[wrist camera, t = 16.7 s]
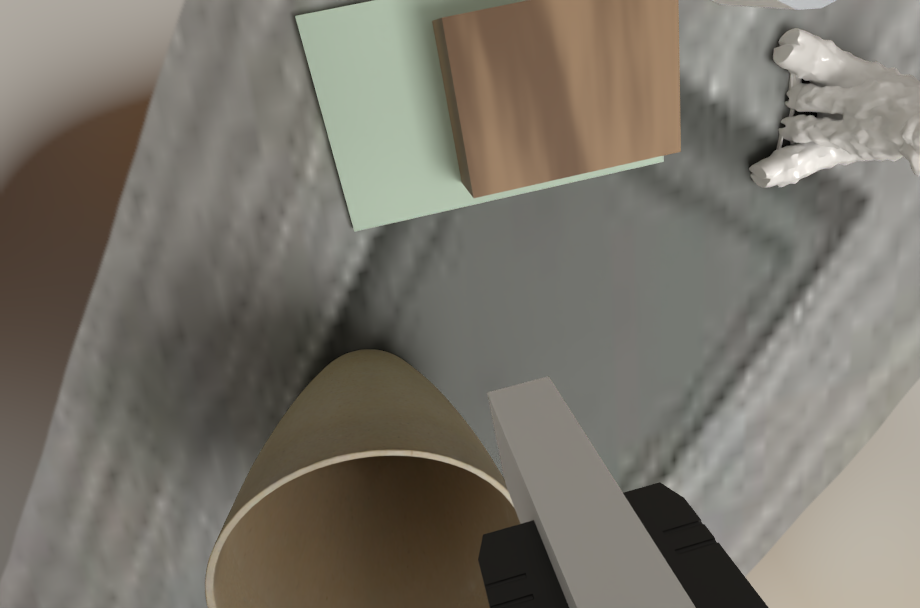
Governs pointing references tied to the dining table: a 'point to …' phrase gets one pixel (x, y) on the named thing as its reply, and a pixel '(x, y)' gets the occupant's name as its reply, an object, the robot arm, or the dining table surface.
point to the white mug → (778, 3)
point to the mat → (394, 109)
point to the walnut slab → (559, 88)
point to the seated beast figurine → (839, 112)
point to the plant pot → (362, 499)
